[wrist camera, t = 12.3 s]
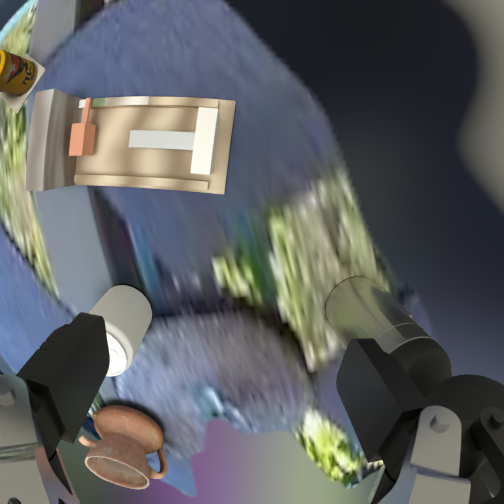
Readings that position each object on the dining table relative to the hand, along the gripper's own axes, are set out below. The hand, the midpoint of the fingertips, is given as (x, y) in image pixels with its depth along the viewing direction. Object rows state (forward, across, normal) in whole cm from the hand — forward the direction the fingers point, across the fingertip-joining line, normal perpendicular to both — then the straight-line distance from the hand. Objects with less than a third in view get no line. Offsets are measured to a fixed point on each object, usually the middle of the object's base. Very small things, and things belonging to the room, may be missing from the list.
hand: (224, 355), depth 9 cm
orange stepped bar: (+28, +20, -10) cm, 35 cm away
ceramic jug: (+30, +16, +44) cm, 56 cm away
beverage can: (+30, +14, +16) cm, 37 cm away
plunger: (+29, +8, -8) cm, 31 cm away
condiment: (+30, +37, -19) cm, 52 cm away
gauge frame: (+30, +13, -8) cm, 34 cm away
